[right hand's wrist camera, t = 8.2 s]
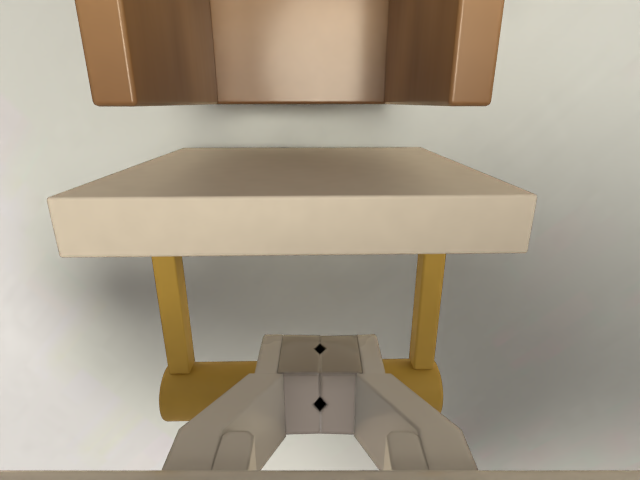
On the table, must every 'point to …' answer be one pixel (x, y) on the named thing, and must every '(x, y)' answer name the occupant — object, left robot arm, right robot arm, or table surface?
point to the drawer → (290, 155)
